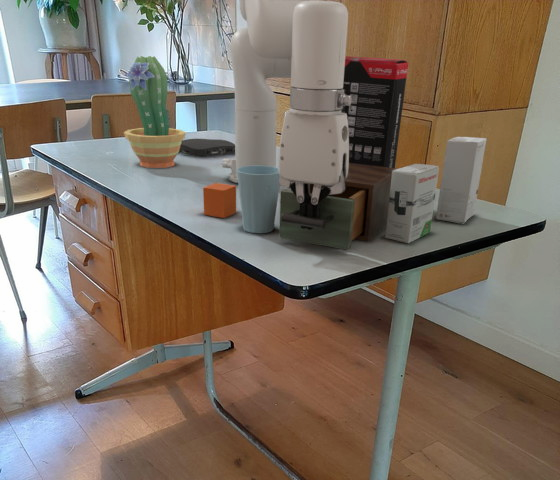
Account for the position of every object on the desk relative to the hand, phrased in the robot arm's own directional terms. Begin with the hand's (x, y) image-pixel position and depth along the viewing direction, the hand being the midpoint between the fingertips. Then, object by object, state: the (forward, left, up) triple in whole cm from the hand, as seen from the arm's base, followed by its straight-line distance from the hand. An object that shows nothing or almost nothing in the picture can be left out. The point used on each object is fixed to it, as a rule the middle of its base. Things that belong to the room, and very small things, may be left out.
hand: (309, 226), depth 94 cm
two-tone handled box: (0, +7, -3) cm, 8 cm away
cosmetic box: (+17, +35, -4) cm, 39 cm away
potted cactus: (-62, +45, -4) cm, 77 cm away
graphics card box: (-6, +38, -4) cm, 38 cm away
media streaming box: (-61, +67, -4) cm, 90 cm away
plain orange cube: (-24, +13, -4) cm, 27 cm away
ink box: (+12, +18, -4) cm, 22 cm away
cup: (-13, +7, -4) cm, 16 cm away
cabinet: (0, +19, -4) cm, 19 cm away
